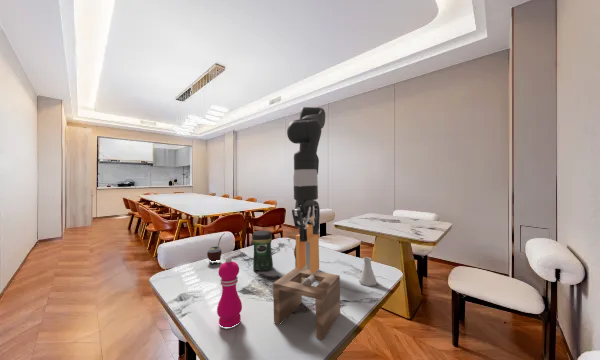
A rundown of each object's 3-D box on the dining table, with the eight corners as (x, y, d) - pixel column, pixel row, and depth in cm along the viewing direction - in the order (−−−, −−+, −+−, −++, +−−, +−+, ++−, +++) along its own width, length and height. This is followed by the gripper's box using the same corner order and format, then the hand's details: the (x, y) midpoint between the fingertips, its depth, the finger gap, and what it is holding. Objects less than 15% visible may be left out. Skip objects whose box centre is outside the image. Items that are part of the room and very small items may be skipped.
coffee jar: (273, 265, 116) (272, 228, 116) (272, 271, 108) (271, 232, 108) (254, 265, 116) (253, 229, 116) (251, 272, 108) (250, 232, 108)
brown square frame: (273, 323, 69) (273, 283, 69) (296, 301, 81) (296, 267, 81) (323, 339, 61) (322, 294, 61) (340, 312, 73) (339, 275, 73)
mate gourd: (204, 265, 119) (204, 236, 119) (213, 259, 126) (212, 232, 126) (218, 265, 117) (217, 236, 117) (225, 260, 125) (225, 232, 125)
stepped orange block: (296, 269, 71) (295, 226, 71) (302, 265, 74) (301, 223, 74) (313, 272, 68) (312, 227, 68) (319, 268, 71) (318, 225, 72)
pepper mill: (220, 316, 73) (219, 253, 73) (244, 315, 73) (242, 252, 73) (214, 331, 65) (212, 261, 65) (240, 329, 66) (238, 260, 66)
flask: (378, 287, 90) (377, 262, 90) (359, 286, 92) (358, 261, 92) (376, 279, 97) (375, 256, 97) (358, 278, 99) (358, 255, 99)
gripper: (305, 184, 79) (306, 233, 79) (283, 185, 67) (284, 243, 67) (325, 183, 76) (326, 235, 76) (305, 184, 63) (307, 247, 63)
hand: (306, 239), depth 71 cm, fingers closed on stepped orange block, 4 cm apart
